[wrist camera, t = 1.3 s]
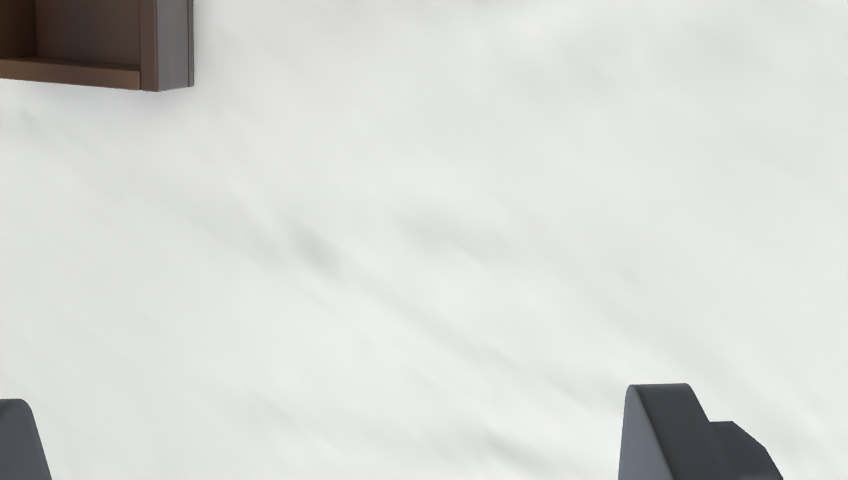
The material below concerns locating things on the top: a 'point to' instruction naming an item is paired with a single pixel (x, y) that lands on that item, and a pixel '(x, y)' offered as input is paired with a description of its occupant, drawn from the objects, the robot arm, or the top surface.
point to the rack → (98, 43)
